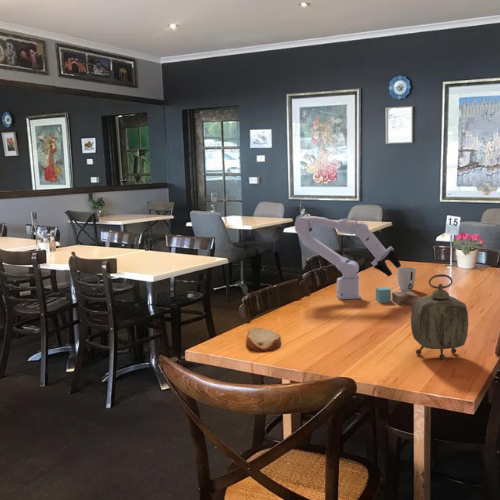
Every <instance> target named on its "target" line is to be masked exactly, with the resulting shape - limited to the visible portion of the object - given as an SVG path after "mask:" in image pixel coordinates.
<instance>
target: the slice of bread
mask: <svg viewBox="0 0 500 500" xmlns="http://www.w3.org/2000/svg"><path fill="white" fill-rule="evenodd" d="M246 335H247V336H246V339H245V344H246V345H247V346H248V348H250V350H252V351H254V352H258V353H267V352H273V351H274V350H275V349H278V348H280V347H281V345H282V338H281V335H280V334H279V333H277V332H275V331H274V330H271V329H267V328H261V327H250V328H249V329H248V331H247V334H246Z"/></svg>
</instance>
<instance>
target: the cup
mask: <svg viewBox="0 0 500 500" xmlns="http://www.w3.org/2000/svg"><path fill="white" fill-rule="evenodd" d="M396 269H397V282H398V287H399V289H400V292H408V291H411V292H413V288H414V285H415V281H416V267H410V266H409V267H407V266H403V267H402V266H400V267H399V268H397V267H396Z"/></svg>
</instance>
